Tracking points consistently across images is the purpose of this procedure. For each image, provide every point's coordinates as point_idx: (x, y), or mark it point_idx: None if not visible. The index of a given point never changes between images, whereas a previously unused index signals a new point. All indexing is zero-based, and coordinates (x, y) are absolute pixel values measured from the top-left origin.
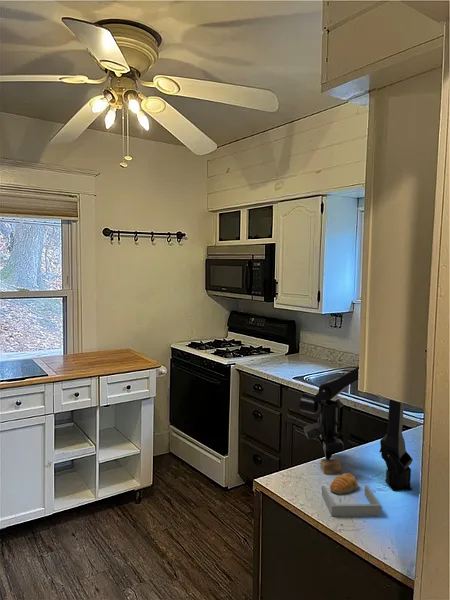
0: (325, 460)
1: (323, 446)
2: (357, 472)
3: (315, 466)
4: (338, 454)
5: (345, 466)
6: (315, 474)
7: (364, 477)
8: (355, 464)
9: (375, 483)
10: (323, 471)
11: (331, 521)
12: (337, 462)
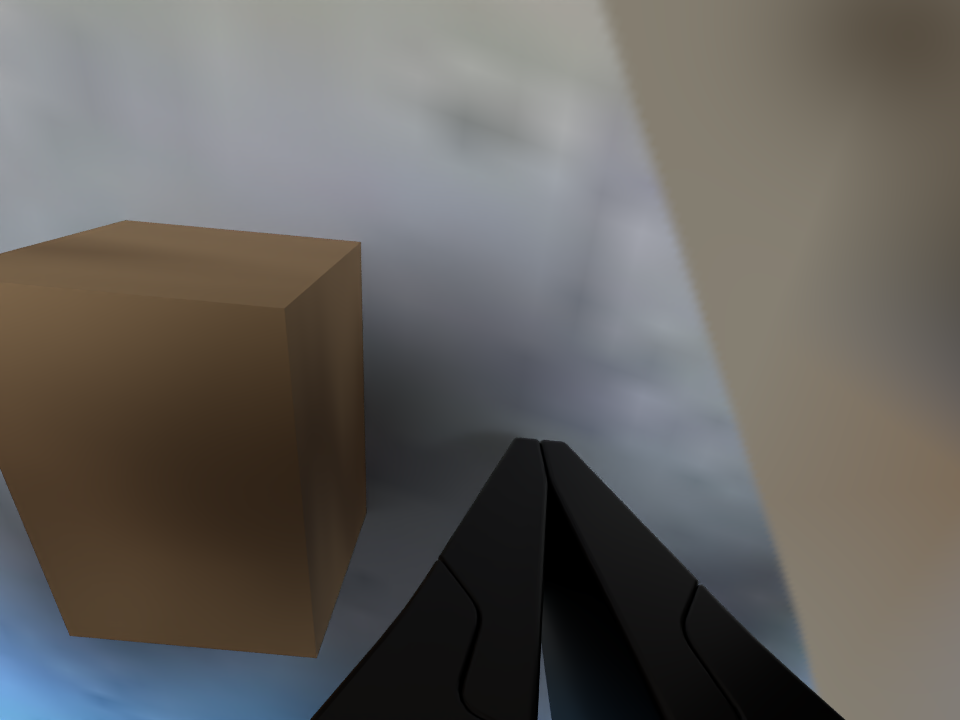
0: (210, 394)
1: (706, 697)
2: (249, 661)
3: (449, 145)
4: (794, 647)
5: None
6: (57, 8)
7: (131, 677)
8: None
9: (15, 710)
10: (149, 230)
11: None
12: (139, 596)
